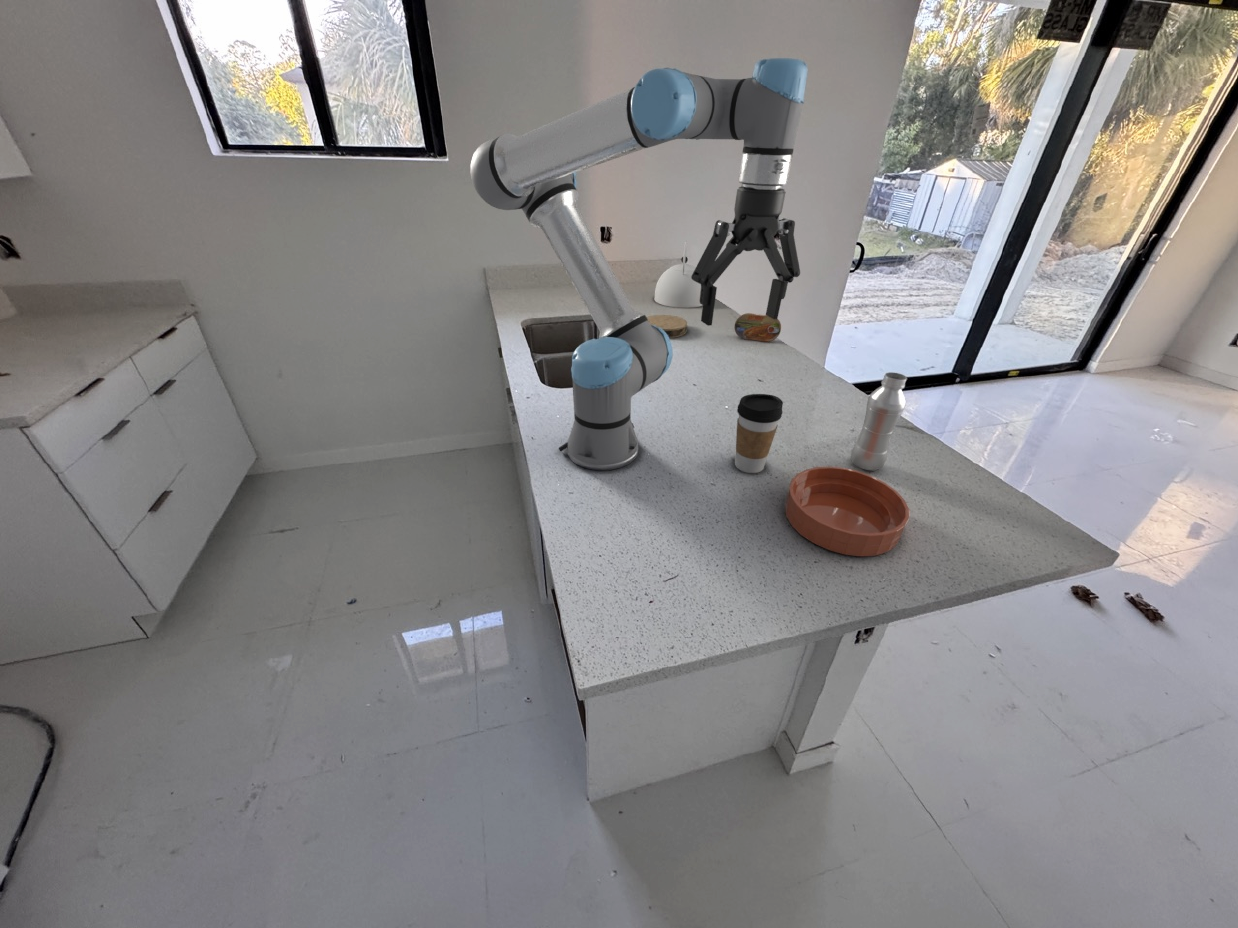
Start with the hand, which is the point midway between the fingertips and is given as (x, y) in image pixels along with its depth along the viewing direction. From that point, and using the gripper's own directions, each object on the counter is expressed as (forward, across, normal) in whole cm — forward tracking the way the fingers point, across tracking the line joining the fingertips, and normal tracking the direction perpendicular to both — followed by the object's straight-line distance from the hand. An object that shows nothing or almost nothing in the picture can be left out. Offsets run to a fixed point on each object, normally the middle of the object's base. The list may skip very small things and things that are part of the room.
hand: (739, 320), depth 89 cm
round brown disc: (+30, +21, +78) cm, 86 cm away
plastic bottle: (+28, +27, -14) cm, 42 cm away
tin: (+29, +47, +60) cm, 82 cm away
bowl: (+28, +10, -27) cm, 40 cm away
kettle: (+30, +44, +112) cm, 124 cm away
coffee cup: (+29, +4, -6) cm, 30 cm away
